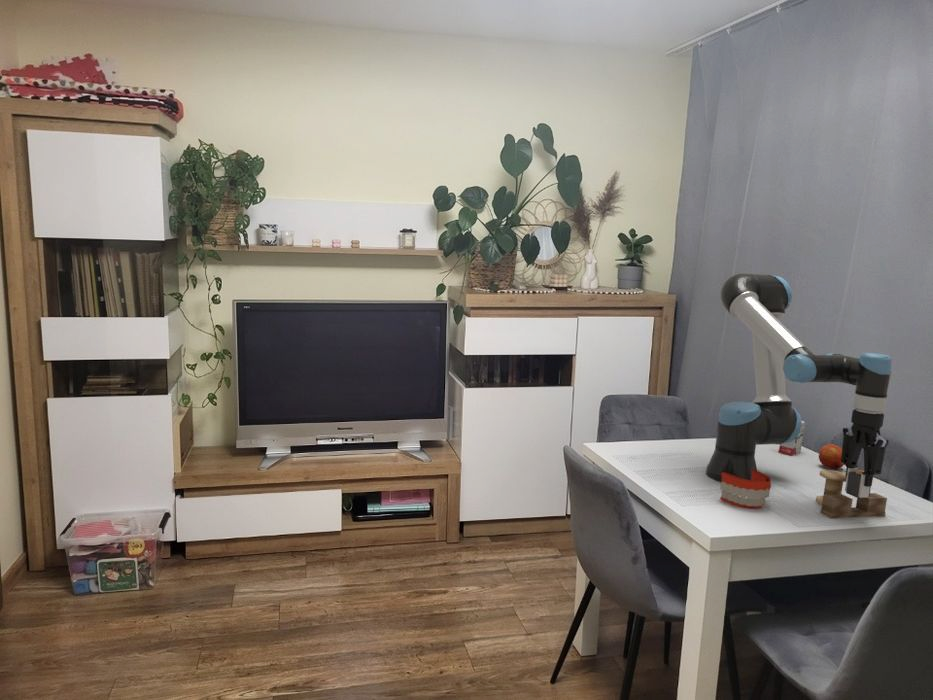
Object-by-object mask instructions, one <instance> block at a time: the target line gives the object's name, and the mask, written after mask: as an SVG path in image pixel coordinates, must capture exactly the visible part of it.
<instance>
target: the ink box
mask: <svg viewBox="0 0 933 700" xmlns="http://www.w3.org/2000/svg"><path fill="white" fill-rule="evenodd" d="M805 425H806V421H803V420H802V426H801V430H800V433H799V435H798V436H797V437H796V438H795V439H794V440H793V441H792V442H789V443H783V444H779V445H778V446H779V449H778V453H780V454H784V455H788V456H791V457H792V456H794V454H795V455H797V454H800V453H801V451H802V443H803V439H804V432H805ZM799 452H800V453H799Z"/></svg>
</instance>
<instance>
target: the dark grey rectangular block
mask: <svg viewBox="0 0 933 700" xmlns="http://www.w3.org/2000/svg"><path fill="white" fill-rule="evenodd" d="M862 472H864V469H858V470H856V472H849V473H848V481H847V489H846V491H845V493H846V494H847V495H849V496H852V497H854V498H856V499H857V498H860V497H858V494H859V487H860V480H861V473H862ZM871 488H872V486H871V487H870V490H869V496H868V497H870V493H871ZM863 498H865V497H863Z"/></svg>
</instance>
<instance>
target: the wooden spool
mask: <svg viewBox="0 0 933 700" xmlns="http://www.w3.org/2000/svg"><path fill="white" fill-rule="evenodd" d="M845 475H846V472H843V471H842V472H841V471H838V470H834V469H822V470H819V476H820V477H822V478H824V479H825V482H824V483H825V484H824V489H823V495H829V494H842V492H843V485H844V483H846V479H847V478H846V477H845ZM823 495H818V496H816V497H815V503H816V504H818V505H820V506H822V502H823Z"/></svg>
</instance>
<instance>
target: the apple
mask: <svg viewBox="0 0 933 700" xmlns="http://www.w3.org/2000/svg"><path fill="white" fill-rule="evenodd" d="M841 456H842V447H841V446H838V445H836V444H832V443H830V444H829V443H828V444H825V445H824V446H822V447H821V448H820V449H819V451H818V460H819V462H820V463H821V465H823V466H824V467H826V468H828V469H830V470H839V469H841V468H842V467H843V466H844V465H845V464H844V463H842V462H841Z"/></svg>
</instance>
